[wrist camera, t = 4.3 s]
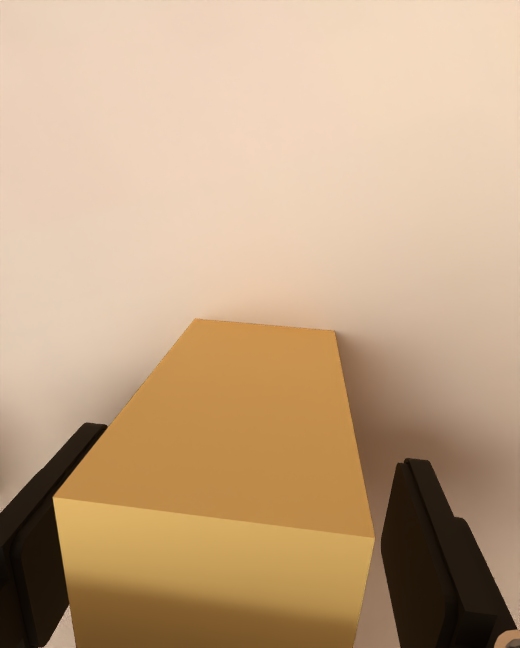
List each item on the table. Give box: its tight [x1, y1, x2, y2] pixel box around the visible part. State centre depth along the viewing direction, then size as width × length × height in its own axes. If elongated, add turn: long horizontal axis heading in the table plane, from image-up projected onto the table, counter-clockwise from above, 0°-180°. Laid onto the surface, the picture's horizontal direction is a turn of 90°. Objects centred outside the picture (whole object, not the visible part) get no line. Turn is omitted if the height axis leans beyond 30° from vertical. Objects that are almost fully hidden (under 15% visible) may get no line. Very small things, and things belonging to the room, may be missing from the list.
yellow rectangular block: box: [53, 319, 375, 648], centre depth 10 cm, size 8×4×7 cm, turn 177°
